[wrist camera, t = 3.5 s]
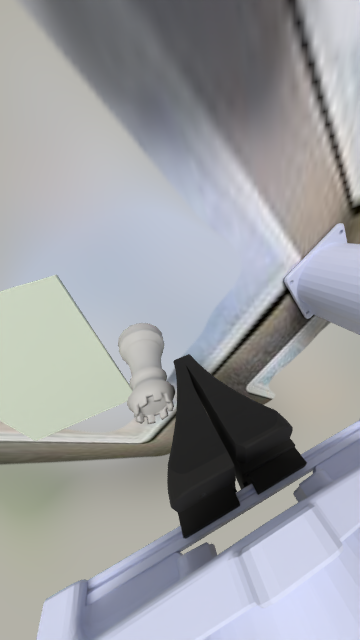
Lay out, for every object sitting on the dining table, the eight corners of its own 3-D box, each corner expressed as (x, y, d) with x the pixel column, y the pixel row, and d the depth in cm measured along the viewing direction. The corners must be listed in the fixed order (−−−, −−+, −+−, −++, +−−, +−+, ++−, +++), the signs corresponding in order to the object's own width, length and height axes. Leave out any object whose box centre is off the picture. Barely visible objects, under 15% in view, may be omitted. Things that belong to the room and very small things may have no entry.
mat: (56, 274, 12) (55, 275, 12) (136, 395, 20) (136, 397, 20) (-145, 333, 10) (-151, 336, 10) (36, 438, 19) (35, 441, 18)
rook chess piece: (125, 315, 15) (129, 384, 8) (168, 325, 17) (198, 387, 10) (112, 353, 16) (108, 436, 10) (153, 358, 19) (172, 430, 12)
